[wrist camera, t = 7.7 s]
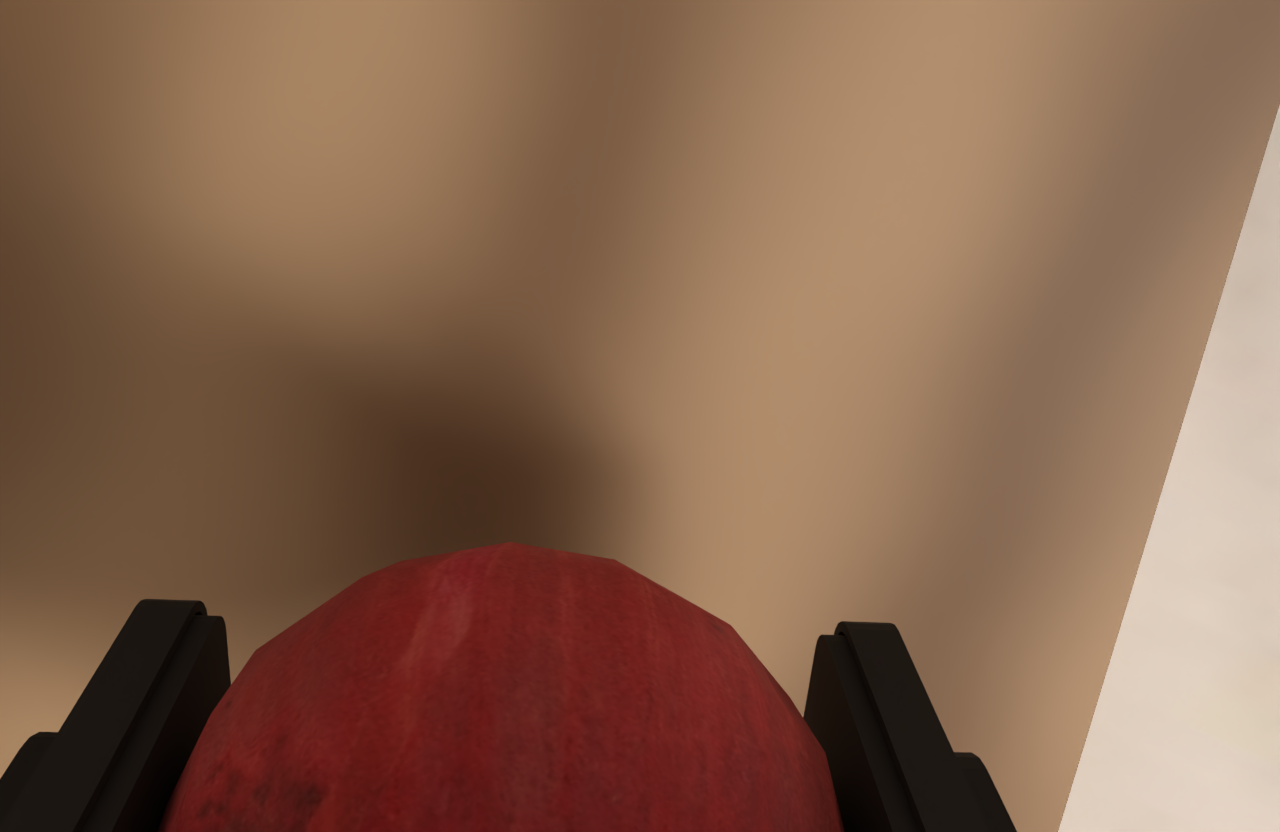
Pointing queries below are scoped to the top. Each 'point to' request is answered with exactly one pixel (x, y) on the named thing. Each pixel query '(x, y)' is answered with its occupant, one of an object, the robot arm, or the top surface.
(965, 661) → the board
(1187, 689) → the top surface
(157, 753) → the robot arm
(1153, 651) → the top surface
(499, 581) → the onion
